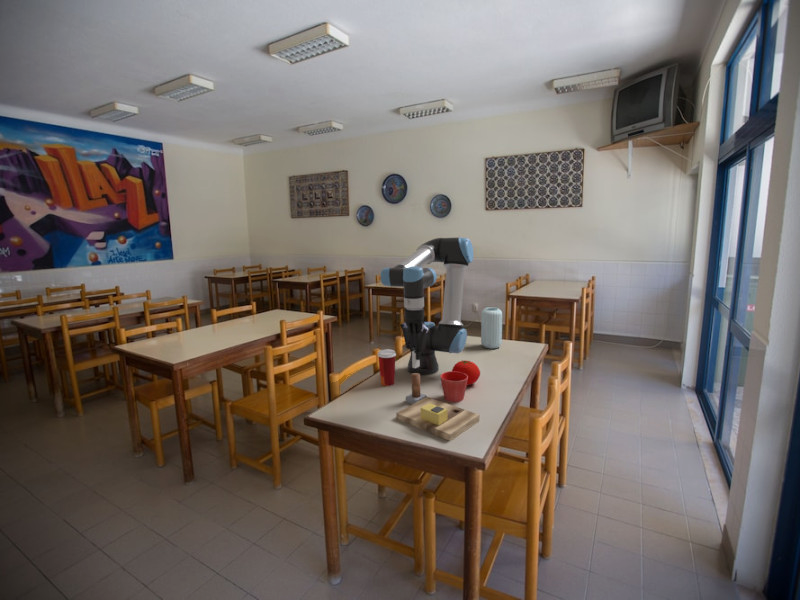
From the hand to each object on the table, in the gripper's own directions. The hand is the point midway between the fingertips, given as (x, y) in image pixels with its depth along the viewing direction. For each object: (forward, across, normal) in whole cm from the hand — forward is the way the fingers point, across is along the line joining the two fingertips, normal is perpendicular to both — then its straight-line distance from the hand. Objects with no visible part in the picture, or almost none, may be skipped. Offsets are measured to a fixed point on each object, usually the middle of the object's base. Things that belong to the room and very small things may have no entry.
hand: (416, 366), depth 158 cm
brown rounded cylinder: (+15, -2, +1) cm, 15 cm away
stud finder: (+13, +16, -10) cm, 23 cm away
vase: (+18, -14, +84) cm, 88 cm away
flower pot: (+16, +9, +13) cm, 22 cm away
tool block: (+16, -2, +1) cm, 16 cm away
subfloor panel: (+15, +14, -6) cm, 22 cm away
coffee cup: (+16, -24, +8) cm, 29 cm away
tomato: (+17, +4, +29) cm, 34 cm away
